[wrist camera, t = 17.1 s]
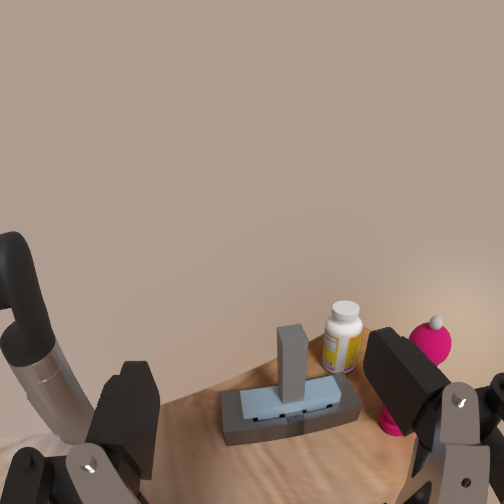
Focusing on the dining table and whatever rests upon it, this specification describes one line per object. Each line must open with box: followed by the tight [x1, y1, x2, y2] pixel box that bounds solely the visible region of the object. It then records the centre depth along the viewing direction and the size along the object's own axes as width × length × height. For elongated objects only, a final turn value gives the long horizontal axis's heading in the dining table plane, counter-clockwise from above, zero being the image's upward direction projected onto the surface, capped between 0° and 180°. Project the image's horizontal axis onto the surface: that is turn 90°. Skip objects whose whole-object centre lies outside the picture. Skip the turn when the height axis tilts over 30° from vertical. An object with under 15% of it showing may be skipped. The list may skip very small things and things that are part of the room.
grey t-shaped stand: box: [240, 324, 341, 421], centre depth 35 cm, size 14×4×16 cm, turn 97°
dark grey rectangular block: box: [220, 372, 362, 446], centre depth 37 cm, size 20×8×4 cm, turn 97°
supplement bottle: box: [322, 301, 363, 374], centre depth 46 cm, size 7×7×13 cm
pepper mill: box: [379, 316, 451, 436], centre depth 29 cm, size 7×7×20 cm
